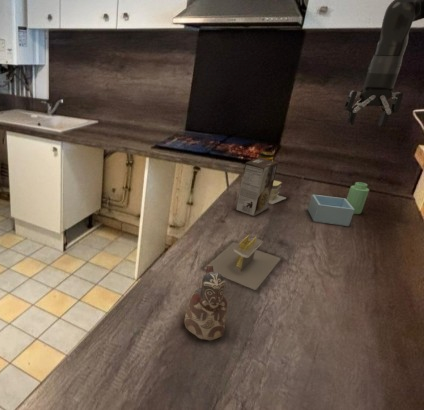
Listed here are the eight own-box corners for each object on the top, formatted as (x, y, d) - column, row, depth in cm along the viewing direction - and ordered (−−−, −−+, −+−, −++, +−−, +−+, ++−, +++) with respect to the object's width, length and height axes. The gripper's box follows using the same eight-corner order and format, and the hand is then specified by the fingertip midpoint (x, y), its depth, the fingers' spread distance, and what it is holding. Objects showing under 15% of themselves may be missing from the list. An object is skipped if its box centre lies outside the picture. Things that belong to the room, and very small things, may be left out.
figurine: (185, 336, 64) (194, 281, 59) (182, 310, 71) (190, 258, 66) (227, 342, 63) (239, 286, 58) (220, 315, 69) (231, 263, 65)
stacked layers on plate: (262, 190, 133) (265, 176, 131) (286, 198, 126) (290, 183, 124) (247, 196, 128) (250, 181, 125) (272, 204, 121) (276, 189, 119)
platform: (203, 268, 84) (207, 244, 82) (233, 241, 97) (238, 220, 94) (255, 290, 77) (262, 264, 74) (281, 258, 89) (287, 235, 87)
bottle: (358, 209, 118) (367, 182, 114) (363, 215, 114) (373, 187, 110) (341, 207, 120) (350, 180, 116) (345, 212, 115) (355, 185, 112)
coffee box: (249, 203, 122) (258, 157, 115) (267, 209, 117) (279, 161, 111) (235, 209, 116) (244, 162, 110) (254, 216, 112) (265, 167, 105)
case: (340, 214, 114) (345, 198, 112) (348, 226, 106) (354, 209, 104) (307, 209, 117) (312, 194, 115) (313, 221, 109) (318, 204, 107)
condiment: (272, 185, 138) (279, 155, 133) (249, 184, 138) (255, 154, 134) (265, 179, 144) (271, 150, 140) (243, 178, 145) (249, 149, 140)
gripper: (362, 71, 107) (345, 126, 114) (417, 73, 104) (397, 128, 111) (351, 70, 114) (336, 121, 120) (402, 71, 111) (384, 124, 117)
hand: (365, 125), depth 116 cm, fingers open, 8 cm apart
